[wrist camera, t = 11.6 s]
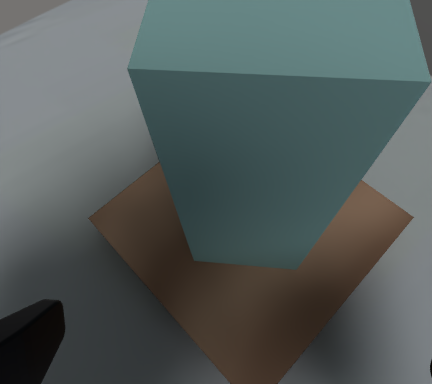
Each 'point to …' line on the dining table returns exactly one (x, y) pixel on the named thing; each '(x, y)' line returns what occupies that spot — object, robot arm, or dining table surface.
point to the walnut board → (248, 277)
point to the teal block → (271, 113)
